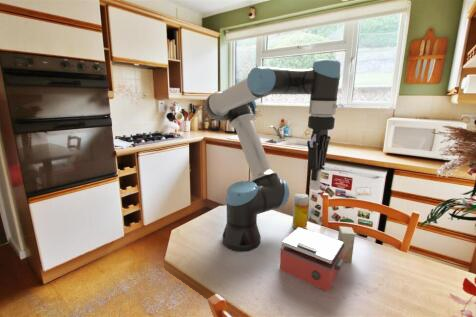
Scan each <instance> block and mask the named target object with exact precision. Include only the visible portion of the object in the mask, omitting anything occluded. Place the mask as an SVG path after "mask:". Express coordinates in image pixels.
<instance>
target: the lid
mask: <svg viewBox="0 0 476 317" xmlns="http://www.w3.org/2000/svg"><path fill="white" fill-rule="evenodd" d="M343 244H344V242H343V241H340V240H338V238H337V239H336V238H333V237H331V236H328V235H325V234H321V233H318V232H315V231H313V230H309V229H306V228H305V229H304V228H301V227H299V228H298V229H296V228H295V229H294V231H293V232H292V233H290V235H288V236H287V237H285V238H284V240H282V243H281V246H282V245H284V246H287V247H289V248H292V249H294V250H297V251H300V252H302V253H305V254H307V255H310V256H312V257H315V258H317V259H320V260H323V261H325V262H328V263H330V264H332V262H333V260H334V259H335V257H336V256H337V254H338V253H339V251H340V249H341V248H342V246H343Z"/></svg>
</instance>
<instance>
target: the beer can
mask: <svg viewBox="0 0 476 317" xmlns="http://www.w3.org/2000/svg"><path fill="white" fill-rule="evenodd" d="M293 198H294V199H293V211H292V227H293V228H295V230H296V229H298V228H299V227H301V228H304V229H306V228H307V226H308V214H309V204H310V203H309V201H310V198H309V195H308V194H307V193H305V192H297V193H295V195H294V197H293Z"/></svg>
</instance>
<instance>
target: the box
mask: <svg viewBox="0 0 476 317" xmlns="http://www.w3.org/2000/svg"><path fill="white" fill-rule="evenodd" d="M355 238H356V233H355V231H354V229H353V227H351V226H343V225H342V226H341V225H340V226H338V235H337V240H340V241H343V242H344V244H343V245H344V249H343V256H342V259H343V263H350V264H351V263H352V260H353V253H354V244H355Z"/></svg>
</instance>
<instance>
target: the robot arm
mask: <svg viewBox="0 0 476 317" xmlns="http://www.w3.org/2000/svg"><path fill="white" fill-rule="evenodd" d="M340 80H341V62H340V60H338V59H331V58H330V59H318V60H315V61H314V62H313V64H312V67H311V68H309V69H307V68H305V69H304V68H303V69H297V68H296V69H293V68H283V67H282V68H280V67H270V66H269V67H268V66H255V67H253V68H251V70H250V72H248V75H247V78H244V79H243V80H241V81H239V82H237V83H235V84H233V85H232V86H230V87H228V88H226V89H224V90H223V91H216V92H213V93H212V94H210V95H209V96H207V98H206V99H205V102H204V109H205V111H206V114H207V116H209V118H211V119H213V120H215V121H228V122H229V124H230V127H231V128H233V129H235V131H236V134H237V138H238V140H239V143H240V146H241V148H242V151H243V154H244V157H245V159H246V160H245V161H246V163H247V165H248V168H249V170H250V173H251V176H252V178H251V180H246V181H244V180H241V181H236V182H234V183H232V184H230V185H229V187H228V188H227V190H226V197H225V202H226V225H225V227H224V230H223V232H222V237H221V238H222V244H223V246H224V247H225V248H226V249H228V250H230V251H234V252H235V253H245V252H251V251H254V250H255V249H258V247H259V246H260V245H261V242H262V241H261V237H262V236H261V233H260V231H259V226H258V223H257V217H258V215H259V214H263V213H266V212H269V211H273V210H277V209H279V208H281V207H283V206H285V205H286V204H287V203H288V201H289V197H290V187H289V185H288V183H287V181H286V180H284V179H283V178H281V177H279V175H278V173H277V172H276V171H273V170H272V168H271V165H270V162H269V160H268V157H267V154H266V151H265V150H264V146H263V144H262V141H261V138H260V136H259V134H258V130H257V128H256V125H255V123H254V121H255V120H256V114H257V103H256V101H257V100H259V99H262V98H265V97H267V96H271V95H294V96H295V95H309V96H310V99H309V109H308V114H310V115H308V118H307V121H308V122H307V127H308V129H311V130H312V132H311V135H310V140H307V142H306V145H307V159H308V160H307V162H308V163H307V164H308V165H307V166H308V167H307V169H308V170H309V171H310V179H309V190H314V191H319V190H320V189H321V188H320V185H321V177H322V171H324V170H325V168H326V167H325V166H326V159H327V154H328V150H329V143H330V141H331V135H329V131H331V130H334V128H335V121H336V118H335V114H336V112H337V111H336V109H337V108H338V107H339V105H338V104H337V101H338V91H339V86H340Z"/></svg>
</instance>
